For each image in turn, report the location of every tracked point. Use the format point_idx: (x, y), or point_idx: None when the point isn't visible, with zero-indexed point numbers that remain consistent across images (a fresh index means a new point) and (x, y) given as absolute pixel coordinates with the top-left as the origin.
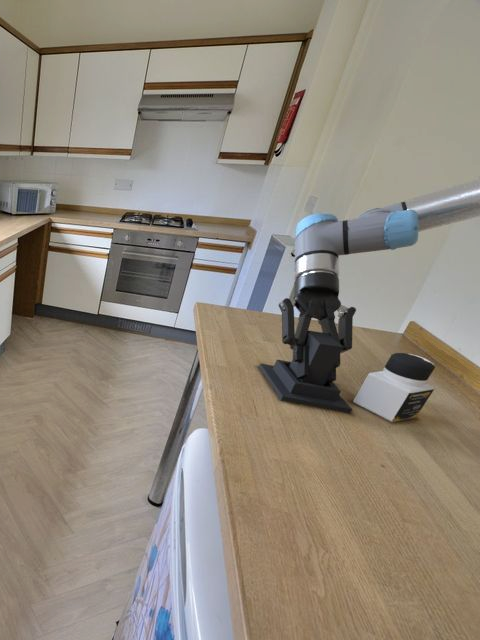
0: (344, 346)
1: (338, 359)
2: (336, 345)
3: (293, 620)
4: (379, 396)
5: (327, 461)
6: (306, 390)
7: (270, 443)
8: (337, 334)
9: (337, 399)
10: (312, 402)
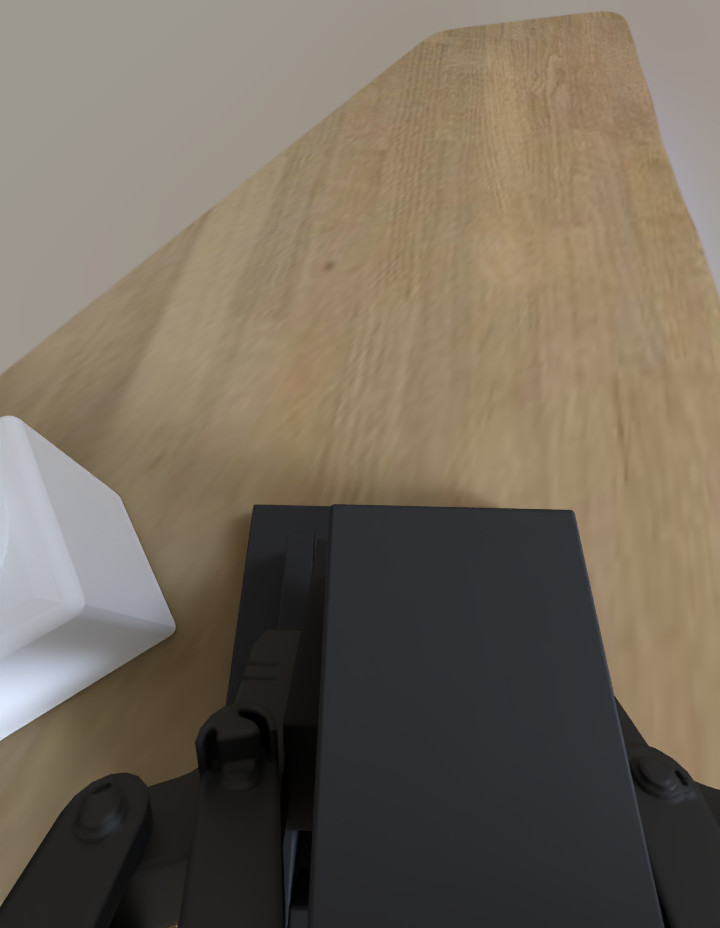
0: (145, 824)
1: (255, 682)
2: (397, 523)
3: (587, 36)
4: (106, 536)
5: (461, 247)
6: None
7: (584, 270)
8: None
9: (274, 577)
10: None
